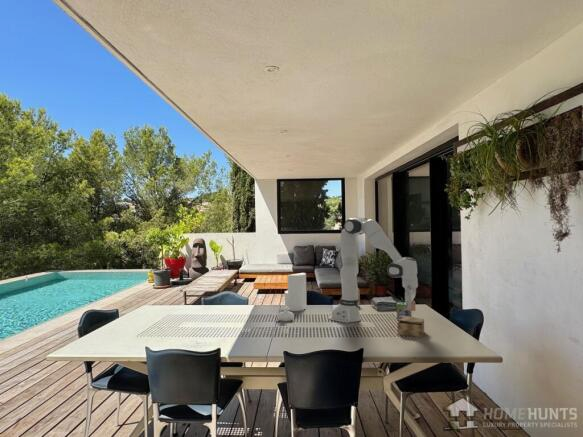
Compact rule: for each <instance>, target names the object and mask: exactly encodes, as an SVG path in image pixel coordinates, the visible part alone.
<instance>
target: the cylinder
mask: <svg viewBox="0 0 583 437" xmlns="http://www.w3.org/2000/svg"><path fill="white" fill-rule="evenodd" d="M284 306H288V307H289V308H290V309H289V310H288V311H289V312H291V311H292V312H299V311H300V310H301V311H304V309H305V310H306V309H307V306H308V305H307V273H306V272H300V273H299V272H298V273H292V274H288V275H287V290H284Z"/></svg>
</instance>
